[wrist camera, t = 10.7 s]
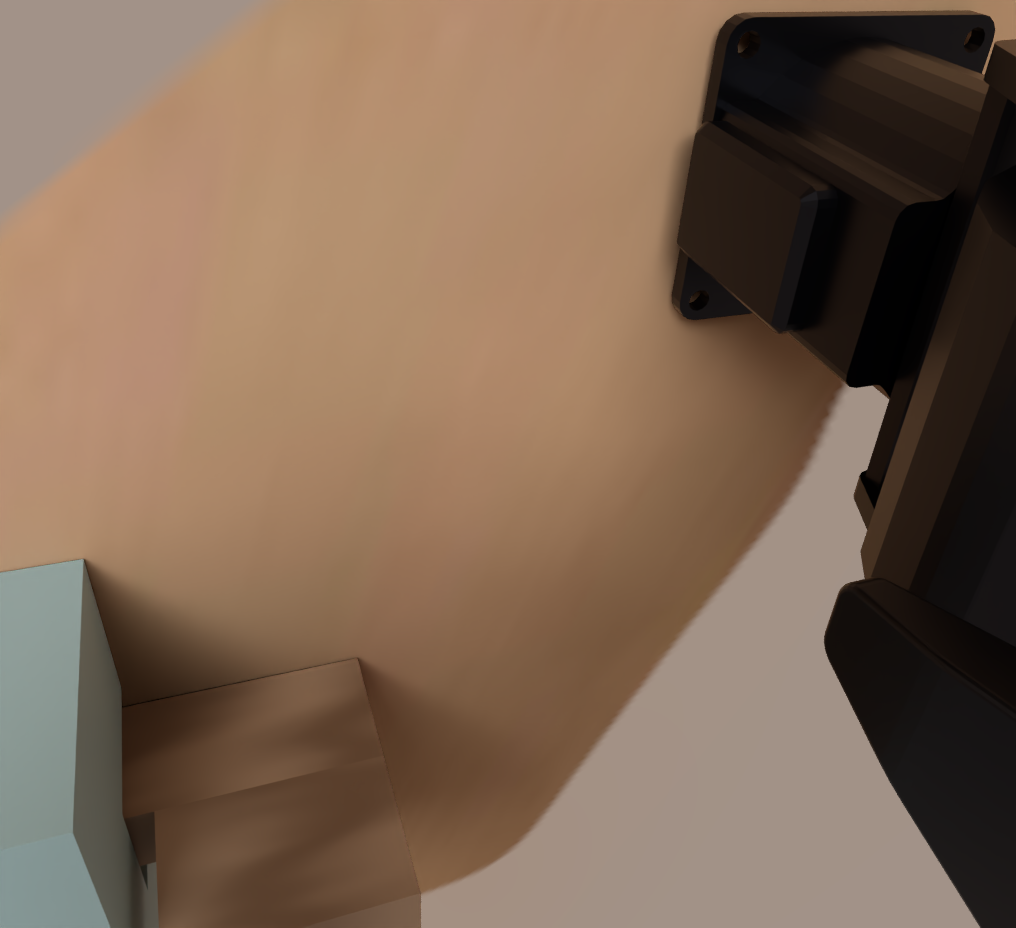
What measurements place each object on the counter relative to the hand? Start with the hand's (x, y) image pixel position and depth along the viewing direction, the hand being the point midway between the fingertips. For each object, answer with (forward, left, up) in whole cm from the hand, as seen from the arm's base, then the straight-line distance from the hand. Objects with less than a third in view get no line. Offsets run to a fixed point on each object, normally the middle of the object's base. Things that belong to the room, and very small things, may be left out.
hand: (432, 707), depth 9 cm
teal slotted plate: (+6, +13, -12) cm, 19 cm away
